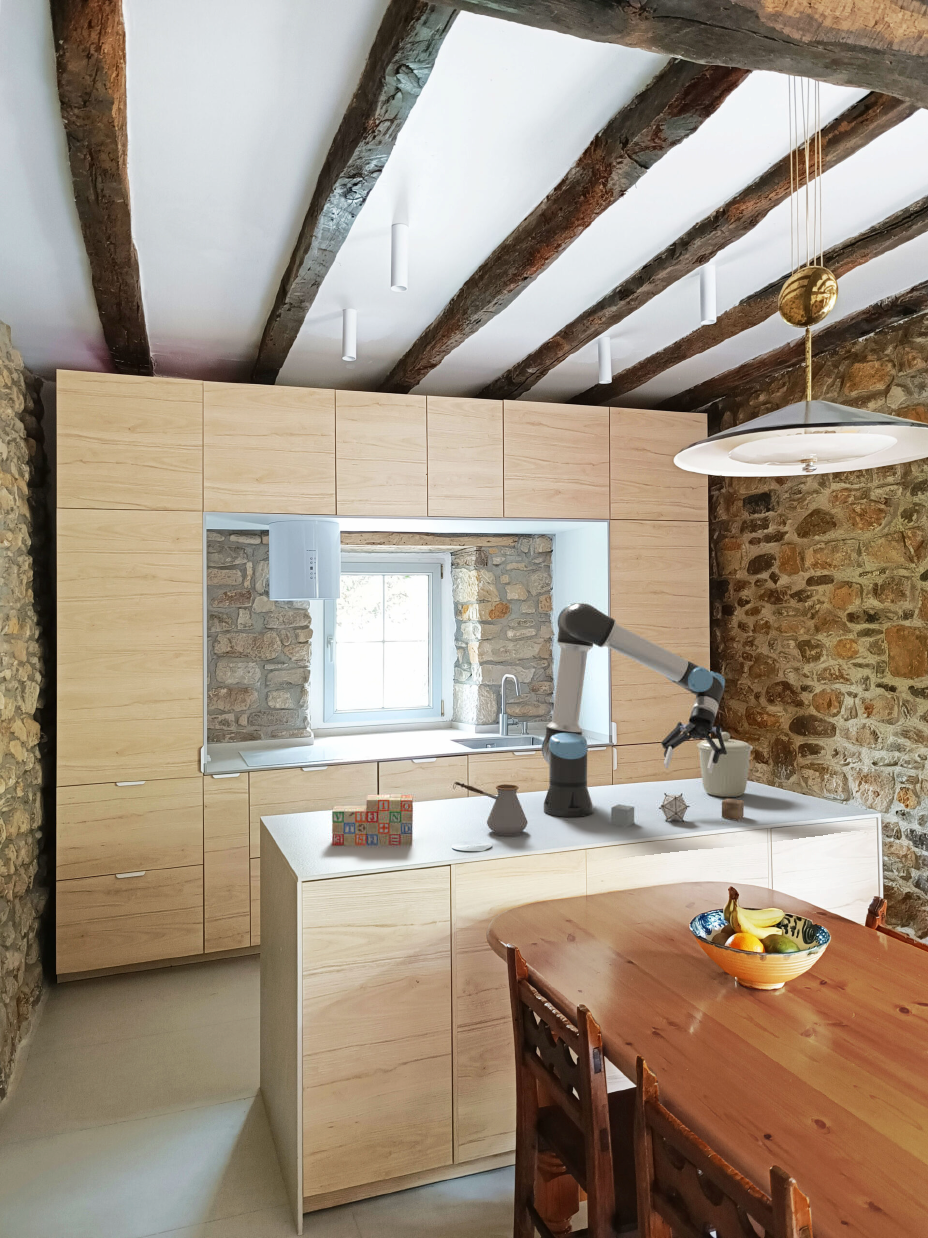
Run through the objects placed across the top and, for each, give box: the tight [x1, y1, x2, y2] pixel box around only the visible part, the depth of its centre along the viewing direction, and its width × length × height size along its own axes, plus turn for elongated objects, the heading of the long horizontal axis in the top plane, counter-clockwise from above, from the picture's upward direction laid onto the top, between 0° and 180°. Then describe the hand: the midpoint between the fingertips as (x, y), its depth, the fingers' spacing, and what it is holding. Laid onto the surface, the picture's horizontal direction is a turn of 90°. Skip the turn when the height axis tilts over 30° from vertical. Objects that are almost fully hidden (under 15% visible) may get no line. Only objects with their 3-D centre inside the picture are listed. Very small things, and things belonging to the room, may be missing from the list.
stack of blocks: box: [331, 793, 414, 846], centre depth 226 cm, size 21×6×12 cm, turn 92°
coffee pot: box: [452, 781, 529, 837], centre depth 235 cm, size 21×12×15 cm, turn 104°
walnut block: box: [721, 798, 745, 821], centre depth 253 cm, size 5×5×5 cm
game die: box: [658, 792, 691, 823], centre depth 249 cm, size 9×8×10 cm
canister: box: [696, 731, 754, 798], centre depth 285 cm, size 18×18×21 cm
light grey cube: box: [610, 803, 635, 828], centre depth 246 cm, size 5×5×5 cm
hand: (687, 768), depth 257 cm, fingers open, 13 cm apart
